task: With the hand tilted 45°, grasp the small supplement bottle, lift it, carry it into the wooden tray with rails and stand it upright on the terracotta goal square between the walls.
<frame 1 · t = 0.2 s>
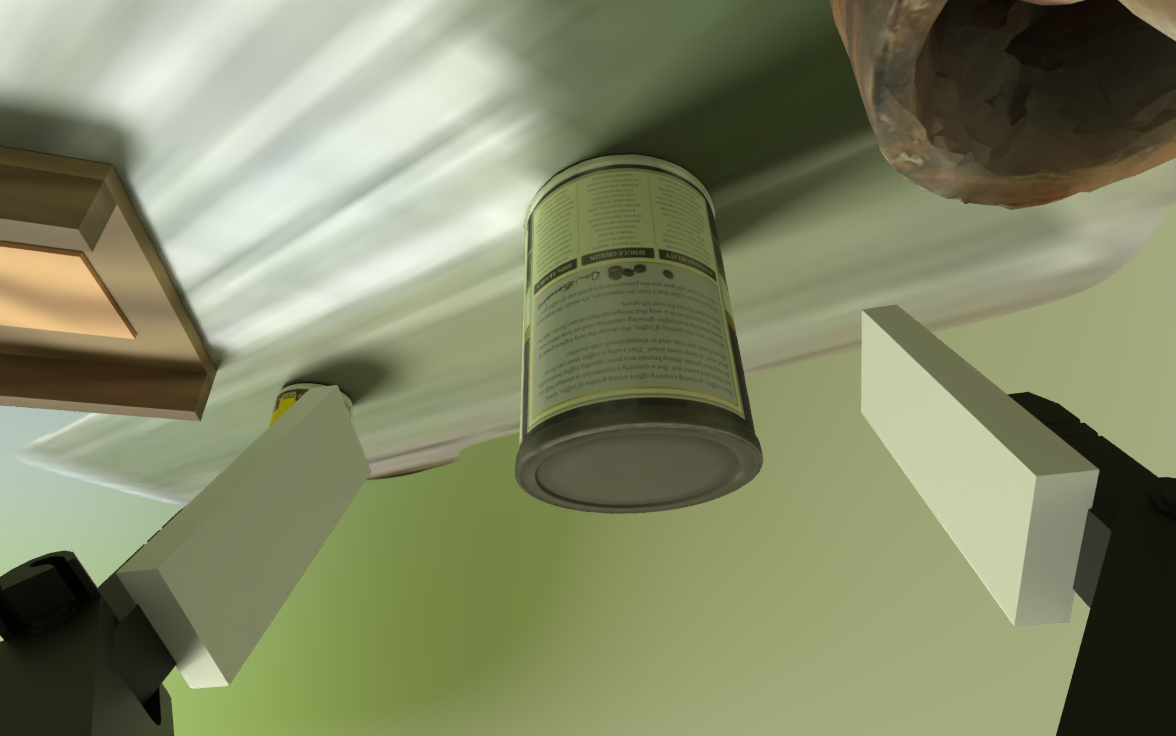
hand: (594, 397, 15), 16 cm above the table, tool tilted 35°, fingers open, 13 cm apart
coffee can: (619, 225, 33), on the table
supplement bottle: (317, 394, 48), on the table
wooden tray with rails: (37, 274, 34), on the table
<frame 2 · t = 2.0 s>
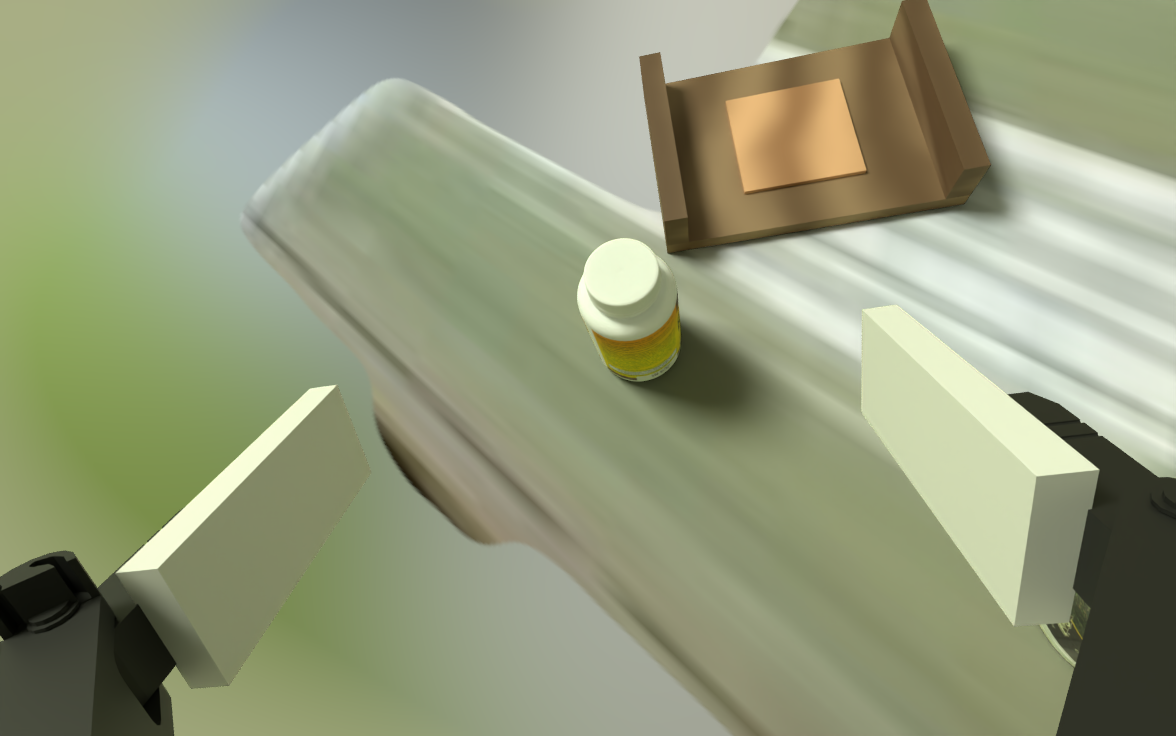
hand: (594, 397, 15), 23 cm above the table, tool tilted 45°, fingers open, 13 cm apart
coffee can: (1133, 593, 31), on the table
supplement bottle: (640, 345, 41), on the table
wooden tray with rails: (790, 146, 43), on the table
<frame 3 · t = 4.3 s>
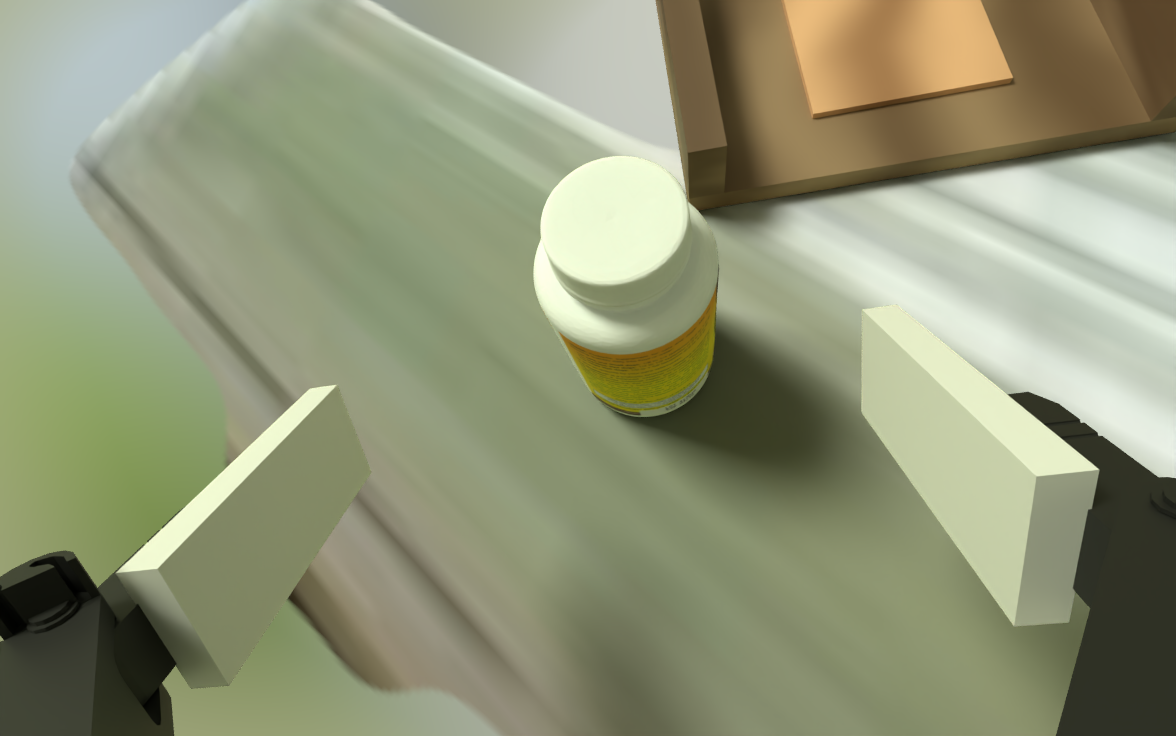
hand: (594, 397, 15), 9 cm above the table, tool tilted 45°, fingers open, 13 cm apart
supplement bottle: (645, 357, 25), on the table
wooden tray with rails: (879, 50, 28), on the table
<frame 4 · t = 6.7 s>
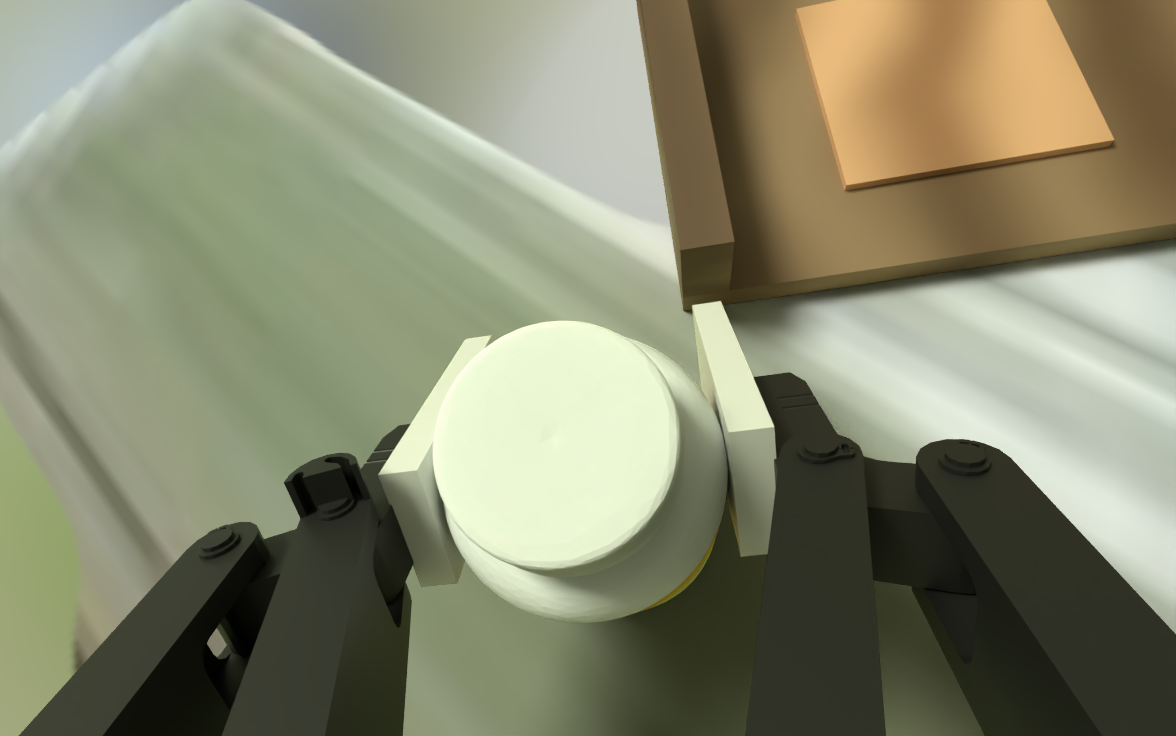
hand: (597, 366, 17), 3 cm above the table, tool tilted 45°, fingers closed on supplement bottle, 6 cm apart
supplement bottle: (625, 514, 19), on the table, touching gripper
wooden tray with rails: (927, 96, 22), on the table
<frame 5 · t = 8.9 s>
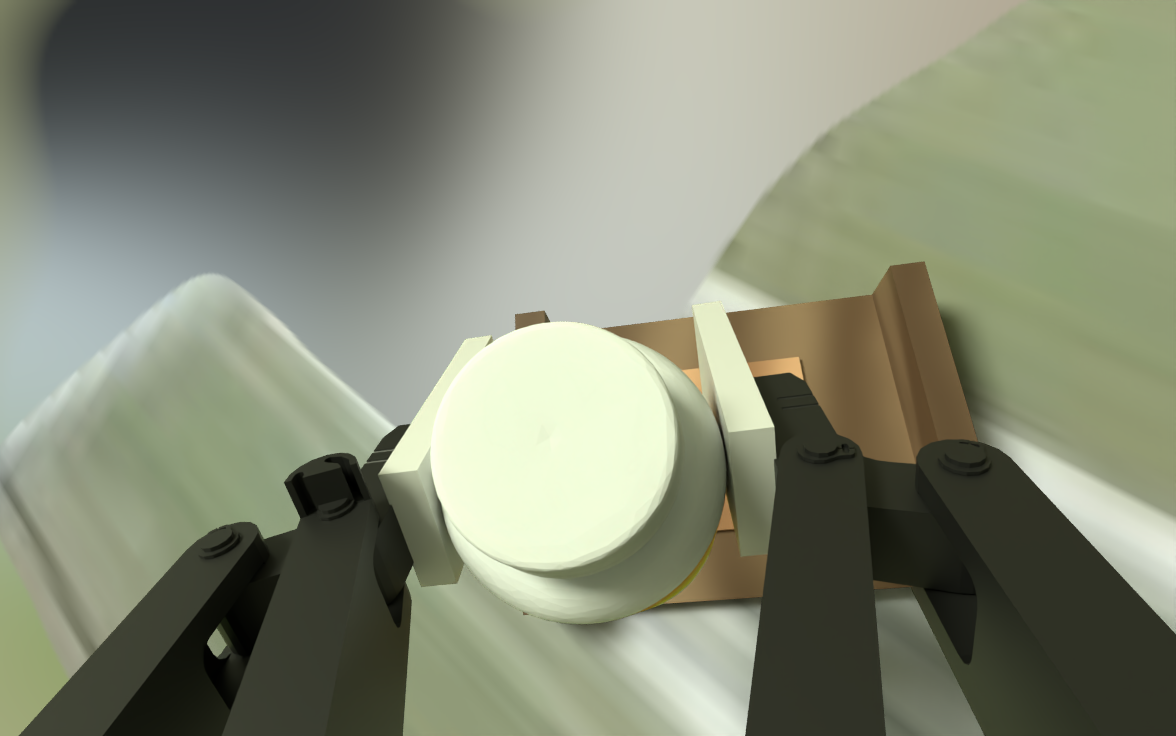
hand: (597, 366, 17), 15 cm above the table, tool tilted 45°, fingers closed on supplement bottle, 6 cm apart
supplement bottle: (624, 514, 19), point 11 cm above the table, touching gripper
wooden tray with rails: (727, 448, 30), on the table
when the fingers open (6 cm above the table, at t = 11.4 s): supplement bottle drops 1 cm, resting on wooden tray with rails.
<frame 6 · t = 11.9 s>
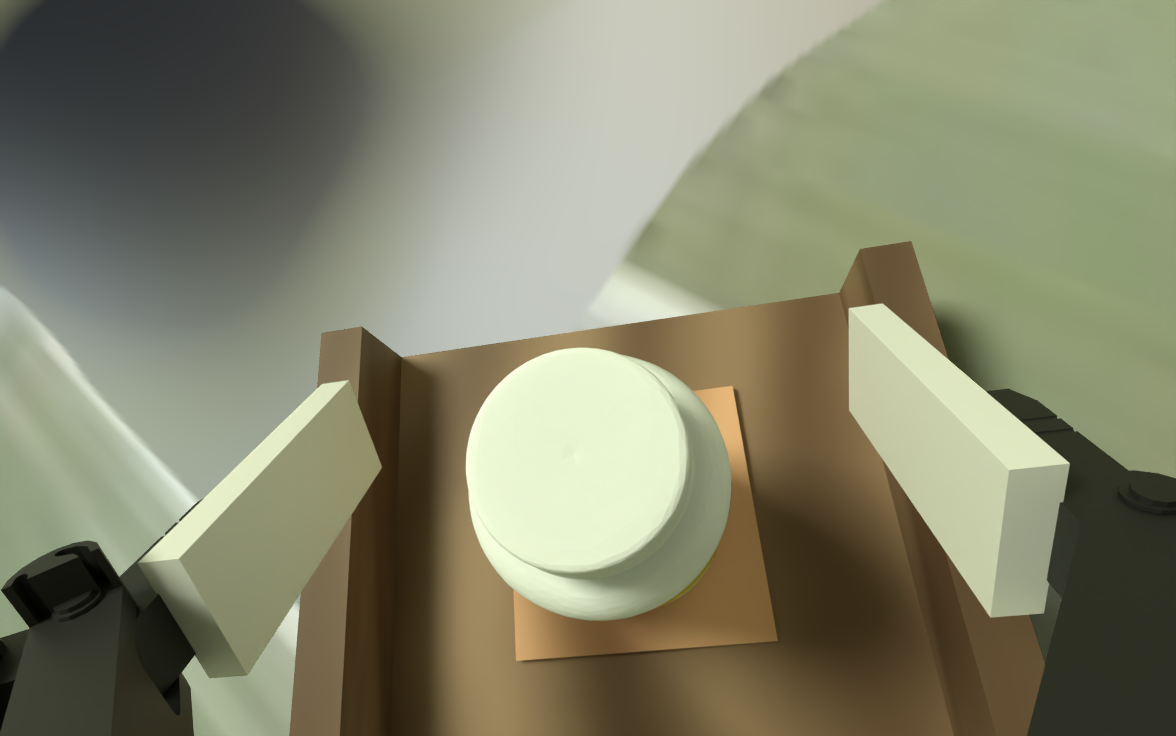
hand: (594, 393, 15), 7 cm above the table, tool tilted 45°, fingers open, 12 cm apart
supplement bottle: (633, 518, 20), point 1 cm above the table, touching wooden tray with rails
wooden tray with rails: (633, 521, 21), on the table
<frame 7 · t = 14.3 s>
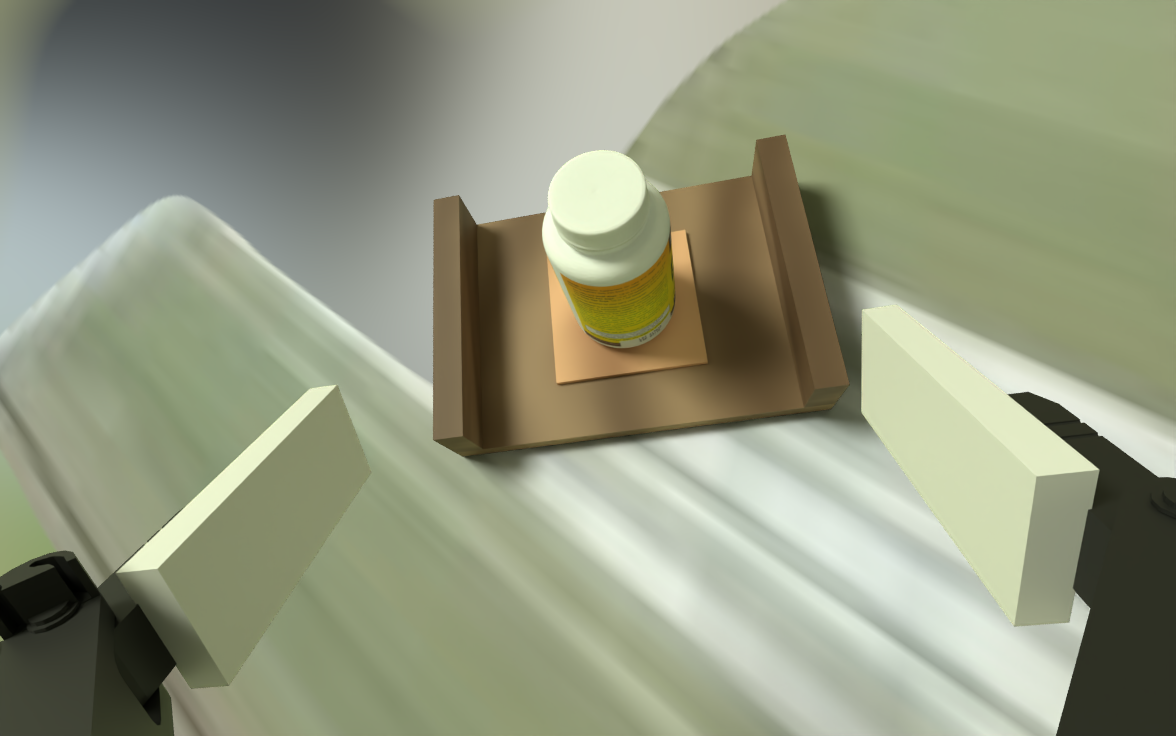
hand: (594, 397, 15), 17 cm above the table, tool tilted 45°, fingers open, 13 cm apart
supplement bottle: (625, 306, 33), point 1 cm above the table, touching wooden tray with rails
wooden tray with rails: (625, 314, 34), on the table
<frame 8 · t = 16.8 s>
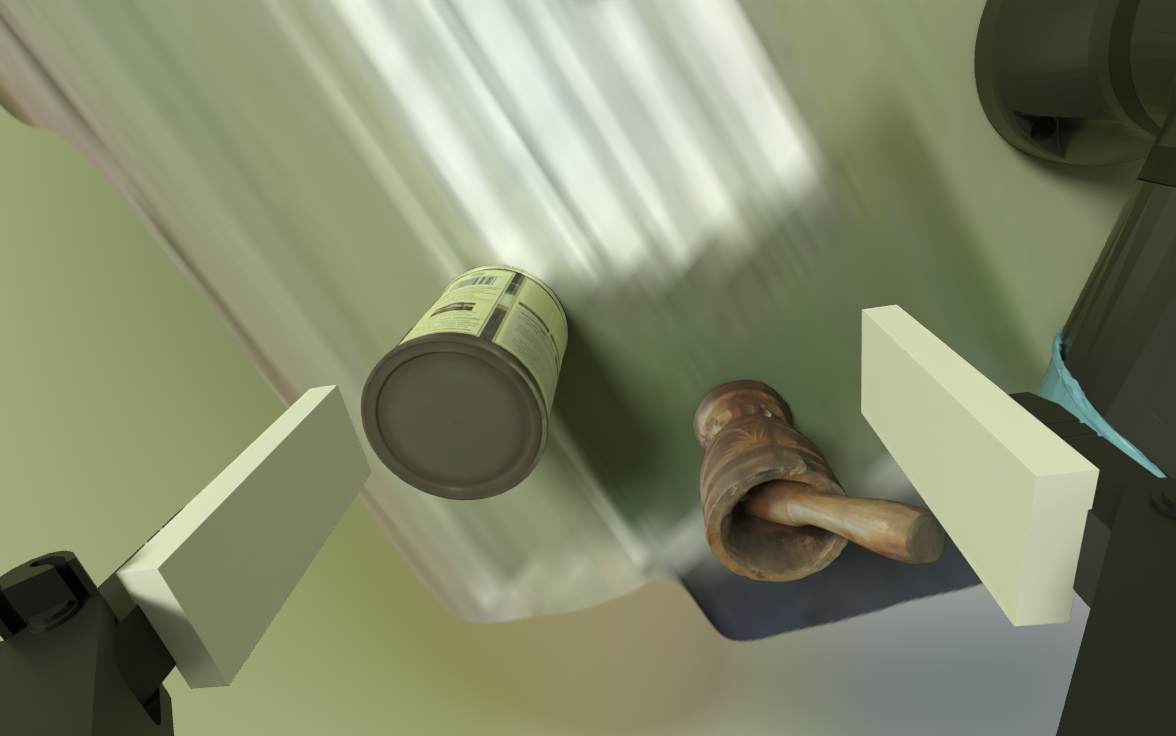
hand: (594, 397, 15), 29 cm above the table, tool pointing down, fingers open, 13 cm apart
mortar and pestle: (752, 402, 47), on the table
coffee can: (502, 329, 46), on the table
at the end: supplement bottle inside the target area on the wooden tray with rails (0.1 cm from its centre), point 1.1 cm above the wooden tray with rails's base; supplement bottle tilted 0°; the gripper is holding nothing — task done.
